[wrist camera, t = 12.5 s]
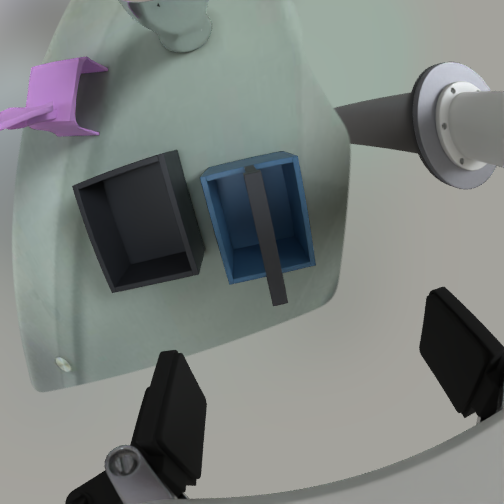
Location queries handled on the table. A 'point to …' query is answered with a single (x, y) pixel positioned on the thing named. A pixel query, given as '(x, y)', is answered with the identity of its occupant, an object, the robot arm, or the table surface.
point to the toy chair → (52, 98)
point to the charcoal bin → (142, 223)
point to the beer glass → (173, 21)
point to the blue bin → (260, 219)
